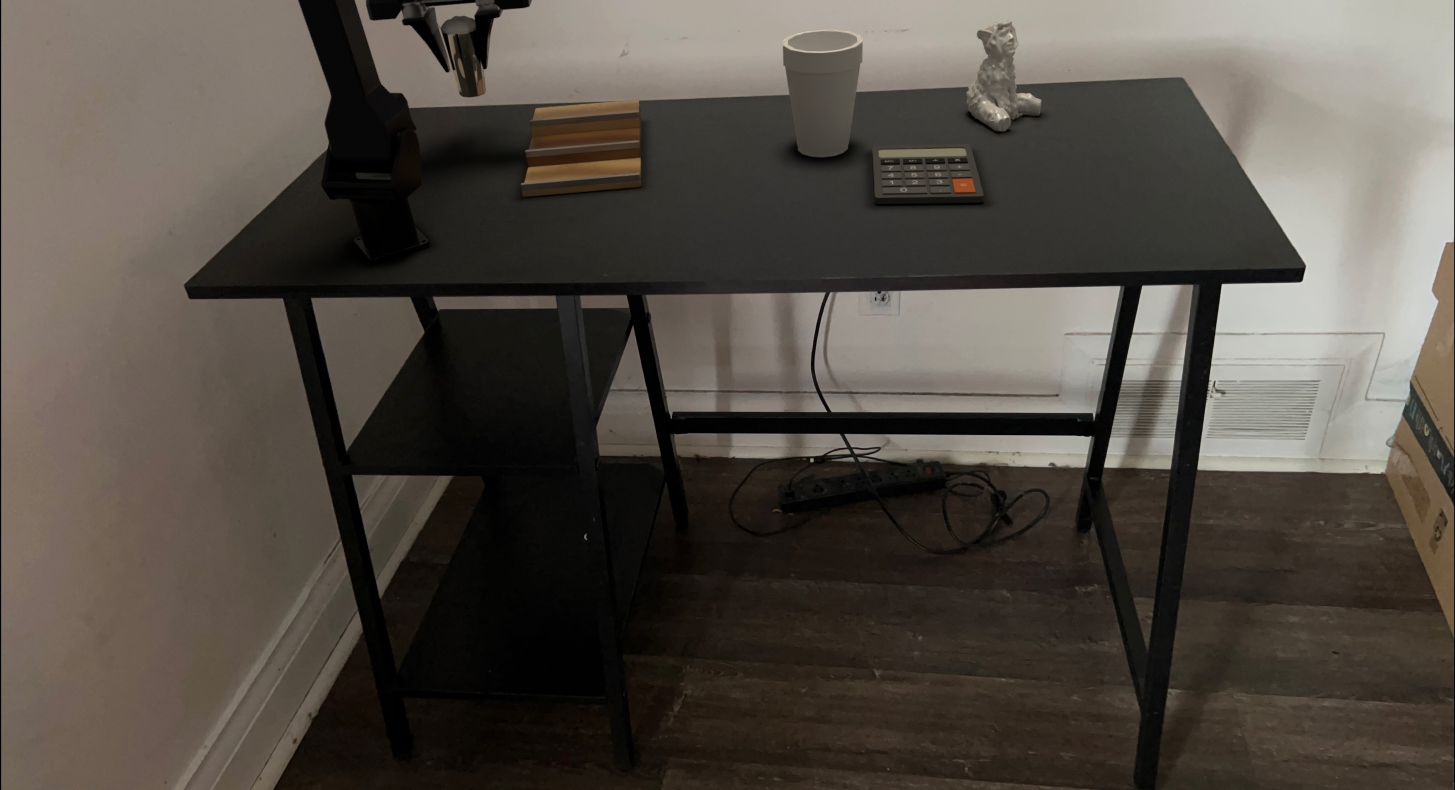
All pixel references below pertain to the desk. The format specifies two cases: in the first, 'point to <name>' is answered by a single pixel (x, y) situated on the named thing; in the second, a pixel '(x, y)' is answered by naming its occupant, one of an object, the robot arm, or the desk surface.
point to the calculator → (925, 174)
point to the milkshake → (464, 55)
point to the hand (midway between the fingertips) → (467, 70)
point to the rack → (584, 148)
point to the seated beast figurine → (999, 81)
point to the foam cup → (822, 88)
